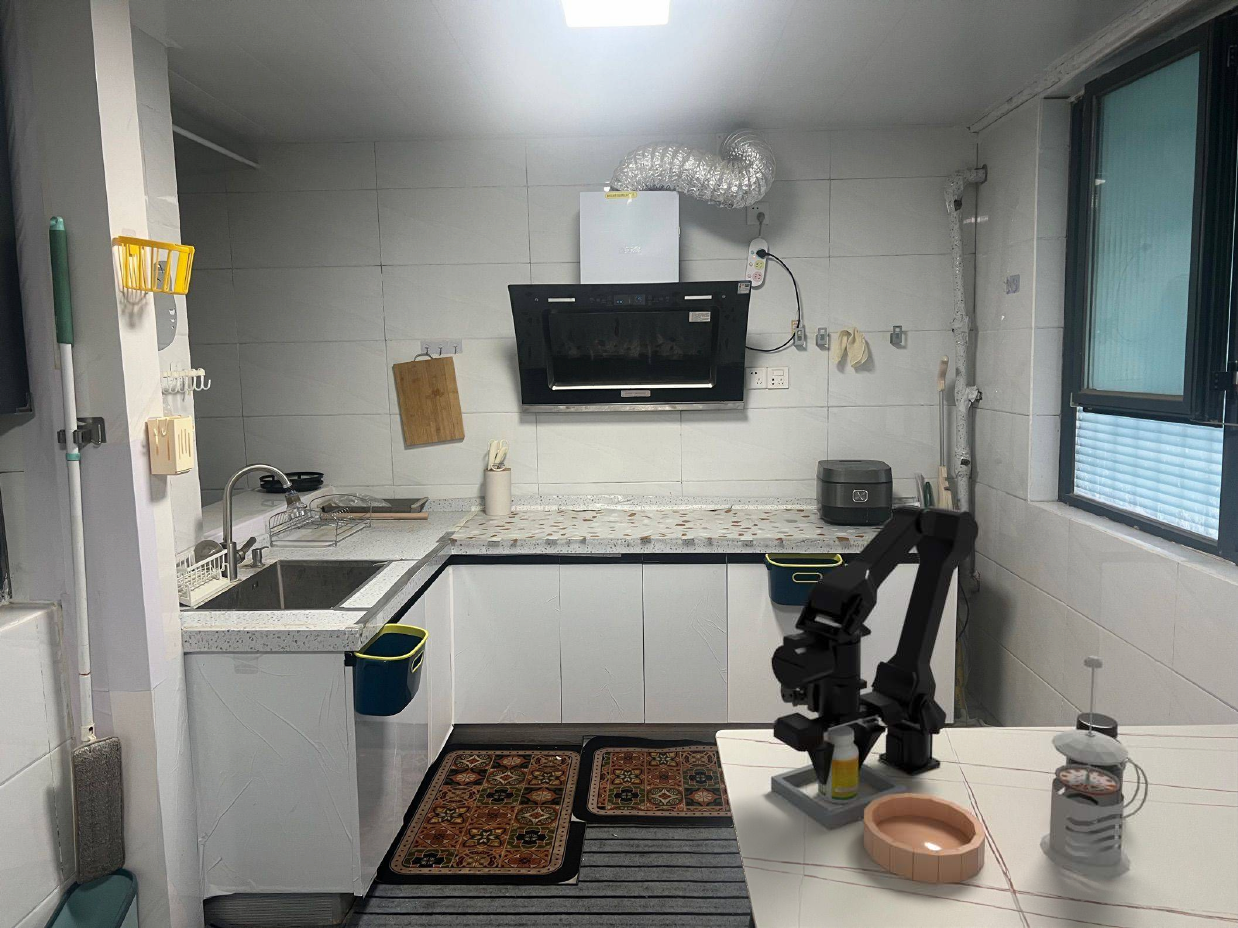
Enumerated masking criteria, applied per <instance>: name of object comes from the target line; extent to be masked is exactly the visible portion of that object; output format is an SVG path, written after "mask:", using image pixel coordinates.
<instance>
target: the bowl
mask: <svg viewBox="0 0 1238 928" xmlns="http://www.w3.org/2000/svg"><path fill="white" fill-rule="evenodd" d="M985 847H986V832H985V829H984V825H983V822H981V821H980V820H979V819H978V817H976V816H975V814H973V812H972V811H970V810H968V809H966V808H964V807H962V806H960V805H959V804H957V803H955V802H953V801H951V800H947V799H944V798H941V797H937V796H933V795H929V794H920V793H919V794H918V793H910V792H907V793H903V794H890V795H886V796H883V797H880V798H878V799H875V800H873V801H872V802H871V803H870V804H869V805H868V806H867V807H866V808H865V809H864V818H863V848H864V849H865V851H866V853H867V854H868V855H869V857H870V858H871V859H872V861H874V862H875V863H876V864H878V865H879V866H881V867H883V868H884V869H885V870H887V871H888V872H890V873H893V874H895V875H897V876H900V877H903V878H906V879H909V880H913V881H917V882H924V883H930V884H938V885H939V884H941V885H942V884H950V883H952V884H953V883H961V882H964V881H965V880H967V879H970V878H972V877H975V876H977V875H978V874H979V873H980V871H981V870H982V869H983V866H984V865H985V853H986V850H985V849H986V848H985Z"/></svg>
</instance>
